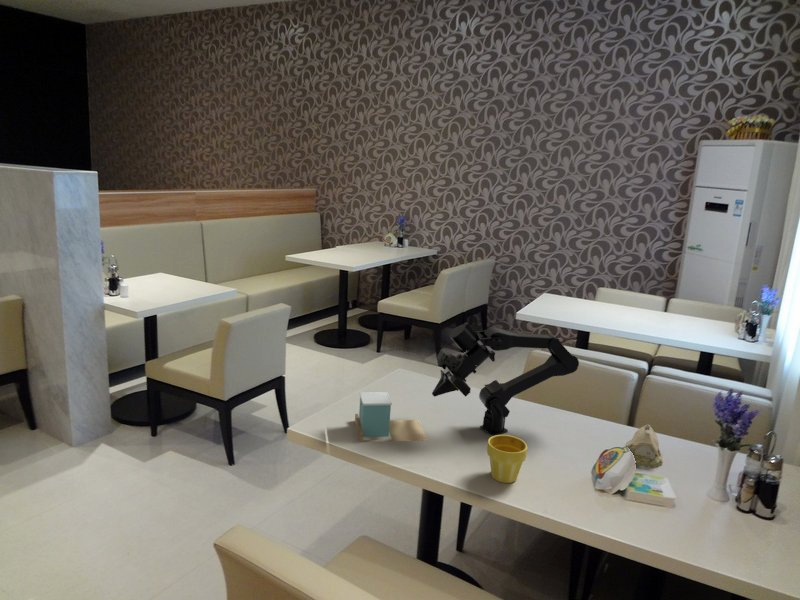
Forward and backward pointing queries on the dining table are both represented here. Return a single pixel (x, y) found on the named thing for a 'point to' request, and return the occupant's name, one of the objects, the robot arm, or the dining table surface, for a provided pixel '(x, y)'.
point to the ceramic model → (645, 447)
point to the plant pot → (506, 457)
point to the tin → (375, 413)
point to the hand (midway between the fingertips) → (432, 395)
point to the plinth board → (395, 431)
